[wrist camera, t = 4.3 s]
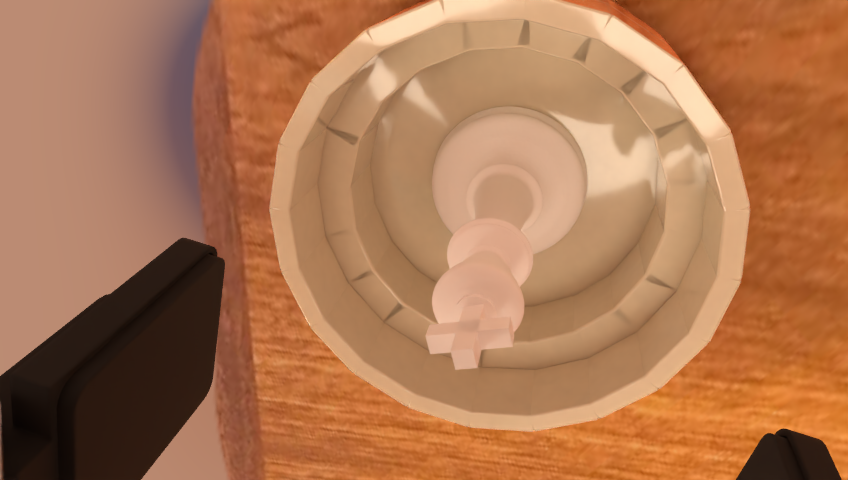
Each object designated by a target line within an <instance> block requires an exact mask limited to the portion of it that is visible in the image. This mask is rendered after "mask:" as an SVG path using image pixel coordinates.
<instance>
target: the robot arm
mask: <svg viewBox="0 0 848 480" xmlns="http://www.w3.org/2000/svg"><path fill="white" fill-rule="evenodd" d="M224 269H225V262H224V260H223V259H222V258H219V257H217V251H216V249H215V248H214V247H212V246H209V245H206V244H203V243H200V242H196V241H193V240H190V239H187V238H181V239H179V240H178V241H177V242H175V243H174V244H173V245H171V246H170V247H169V248H168V249H166V250H165V251H164V252H163V253H161V254H160V255H159V256H158V257H156V258H155V259H154V260H153V261H151V262H150V263H149V264H148V265H146V266H145V267H144V268H143V269H141V270H140V271H139V272H137V273H136V274H135V275H134V276H132V277H131V278H130V279H129V280H128V281H126V282H125V283H124V284H122V285H121V286H120V287H119V288H117V289H116V290H115V291H114V292H112V293H111V294H108V295H105V296H103V297H101V298H99V299H98V300H96V301H95V302H94V303H93V304H91V305H90V306H89V307H88V308H86V309H85V310H84V311H83V312H81V313H80V314H79V315H77V316H76V317H75V318H74V319H72V320H71V321H70V322H69V323H67V324H66V325H65V326H63V327H62V328H61V329H60V330H58V331H57V332H56V333H55V334H53V335H52V336H51V337H49V338H48V339H47V340H46V341H44V342H43V343H42V344H41V345H39V346H38V347H37V348H35V349H34V350H33V351H32V352H30V353H29V354H28V355H27V356H25V357H24V358H23V359H22V360H20V361H19V362H18V363H16V364H15V365H14V366H13V367H11V368H10V369H9V370H8V371H6V372H5V373H4V374H2V375H1V376H0V480H141V479H142V478H143V476H144V475H145V474H146V472H147V471H148V470H149V469H150V467H151V466H152V465H153V464H154V462H155V461H156V460H157V458H158V457H159V456H160V455H161V453H162V452H163V451H164V450H165V448H166V447H167V446H168V444H169V443H170V442H171V441H172V439H173V438H174V437H175V436H176V434H177V433H178V432H179V431H180V429H181V428H182V427H183V425H184V424H185V423H186V422H187V420H188V419H189V418H190V416H191V415H192V414H193V413H194V411H195V410H196V409H197V407H198V406H199V405H200V404H201V402H202V401H203V400H204V398H205V397H206V395H207V393H208V392H209V389H210V387H211V384H212V379H213V372H214V362H215V353H216V344H217V335H218V325H219V316H220V307H221V297H222V288H223V279H224ZM736 480H841V477H840V475H839V473H838V471H837V469H836V467H835V464H834V462H833V460H832V458H831V456H830V454H829V451H828V449H827V447H826V445H825V444H824V443H823V441H821V440H819V439H816V438H813V437H810V436H807V435H804V434H801V433H798V432H794V431H791V430H788V429H780V430H779V431H777V432H776V433H775V435H774V434H771V433H767V434H766V435H764V436H763V438H762V439H761V440H760V442H759V444H758V445H757V447H756V448H755V450H754V452H753V453H752V455H751V456H750V458H749V460H748V461H747V463H746V464H745V466H744V468H743V469H742V471H741V472H740V474H739V476H738V477H737V479H736Z"/></svg>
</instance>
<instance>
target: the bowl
mask: <svg viewBox="0 0 848 480" xmlns="http://www.w3.org/2000/svg"><path fill="white" fill-rule="evenodd" d="M503 106H514V107H523V108H528V109H531V110H535V111H537V112H540V113H542V114H545V115H547V116H548V117H550V118H552V119H553V120H555V121H556V122H558V123H559V124H560V125H562V126H563V127H564V128H565V129H566V130H567V131H568V132H569V133H570V135H571V136H572V137H573V138H574V140H575V141H576V143H577V144H578V146H579V148H580V150H581V152H582V154H583V157H584V160H585V163H586V168H587V176H588V186H587V193H586V198H585V201H584V204H583V207H582V210H581V212H580V215H579V217H578V219H577V221H576V222H575V224H574V225H573V227H572V228H571V229H570V231H569V232H568V233H567V234H566V235H565V236H564V237H563V238H562V239H561V240H560V241H558V242H557V243H556V244H554V245H553V246H551V247H549V248H547V249H546V250H544V251H541V252H539V253H536V254H533V266H532V270H531V272H530V275H529V276H528V278H527V279H526V281H525V282H524V283H523V284H522V285H521V286H520V289H521V291H522V294H523V298H524V315H523V319H522V321H521V323H520V325H519V327H518V328H517V330H516V331H515V332H514V341H513V347H506V348H495V349H484V350H481V354H480V358H479V363H478V368H473V369H460V370H455V367H454V363H453V359H452V355H451V352H450V353H439V354H430V352H429V348H428V344H427V340H426V337H425V336H426V333H427V330H428V327H429V325H431V324H439V323H438V321H437V319H436V317H435V315H434V312H433V308H432V295H433V291H434V288H435V286H436V284H437V282H438V281H439V279H440V278H441V277H442V275H443V274H444V273H446V272H447V271H448V270H449V269H450V268H449V265H448V260H447V249H448V245H449V242H450V240H451V238H452V236H453V234H452V233H451V232H450V231H449V229H448V228H447V227H446V225H445V224H444V223H443V221H442V219H441V218H440V216H439V214H438V211H437V209H436V206H435V203H434V199H433V194H432V174H433V167H434V162H435V158H436V155H437V153H438V150H439V148H440V146H441V144H442V143H443V141H444V139H445V138H446V137H447V135H448V134H449V133H450V132H451V131H452V130H453V129H454V128H455V127H456V126H457V125H458V124H459V123H460V122H462V121H463V120H465V119H466V118H468V117H470V116H471V115H473V114H475V113H478V112H480V111H483V110H486V109H490V108H495V107H503ZM269 211H270V217H271V222H272V227H273V233H274V238H275V244H276V249H277V255H278V260H279V265H280V270H281V271H282V274H283V276H284V278H285V280H286V282H287V284H288V286H289V288H290V290H291V292H292V294H293V296H294V298H295V299H296V301H297V303H298V305H299V307H300V309H301V311H302V313H303V315H304V317H305V319H306V321H307V323H308V324H309V326H311V329H312V330H313V331H314V332H315V333H316V335H317V336H318V337H319V338H320V339H321V340H322V341H323V342H324V343H325V344H326V345H327V346H328V347H329V348H330V349H331V351H332V352H333V353H334V354H335V355H336V356H337V357H338V358H339V359H340V360H341V361H342V362H343V363H344V364H345V365H346V366H347V368H348V369H349V370H350V371H351V372H352V373H354V374H355V375H356V376H358V377H360V378H361V379H363V380H364V381H366V382H368V383H369V384H371V385H372V386H374V387H376V388H377V389H379V390H380V391H382V392H384V393H385V394H387V395H388V396H390V397H392V398H393V399H395V400H396V401H398V402H400V403H401V404H403V405H404V406H408V408H410V409H413V410H416V411H419V412H422V413H425V414H428V415H432V416H435V417H438V418H441V419H444V420H447V421H450V422H453V423H456V424H459V425H462V426H466V427H470V428H483V429H498V430H512V431H527V432H533V431H541V430H546V429H551V428H557V427H562V426H567V425H572V424H578V423H583V422H588V421H594V420H597V419H598V418H603V417H605V416H607V415H609V414H611V413H613V412H615V411H617V410H619V409H621V408H623V407H625V406H627V405H629V404H631V403H633V402H635V401H637V400H639V399H641V398H644V397H646V396H648V395H650V394H652V393H654V392H656V391H657V390H658V389H661V388H662V387H663V386H664V385H665V384H666V383H667V382H668V381H669V380H670V379H671V378H672V377H673V376H674V375H676V374H677V373H678V372H679V371H680V370H681V369H682V368H683V367H684V366H685V365H686V364H687V363H688V362H689V361H690V360H691V359H692V358H693V357H695V356H696V355H697V354H698V353H699V352H700V351H701V350H702V349H703V348H704V347H705V346H706V345H707V344H708V342H710V340H711V338H712V337H713V335H714V333H715V331H716V329H717V327H718V325H719V323H720V321H721V319H722V317H723V316H724V314H725V312H726V310H727V308H728V306H729V304H730V302H731V300H732V298H733V296H734V294H735V293H736V291H737V289H738V287H739V285H740V283H741V278H742V274H743V266H744V258H745V250H746V242H747V234H748V226H749V218H750V201H749V197H748V193H747V189H746V185H745V181H744V178H743V174H742V170H741V166H740V162H739V158H738V154H737V150H736V146H735V142H734V138H733V134H732V133H731V129H730V128H729V127H728V125H727V124H726V122H725V121H724V119H723V118H722V117H721V115H720V114H719V112H718V111H717V110H716V108H715V107H714V105H713V104H712V102H711V101H710V100H709V98H708V97H707V95H706V94H705V92H704V91H703V90H702V88H701V87H700V85H699V84H698V83H697V81H696V80H695V78H694V77H693V75H692V74H691V73H690V71H689V70H688V68H687V67H686V66H685V64H684V63H683V62H682V60H681V59H680V58H679V57H678V55H677V54H676V53H675V52H674V50H673V49H672V48H671V47H670V46H669V44H668V43H667V42H666V41H665V39H664V38H663V37H662V36H661V35H660V34H659V33H658V32H657V31H655V30H654V29H653V28H651V27H650V26H648V25H647V24H645V23H644V22H642V21H641V20H640V19H638V18H637V17H635V16H634V15H632V14H631V13H629V12H628V11H627V10H625V9H624V8H622V7H621V6H619V5H618V4H616V3H615V2H614V1H612V0H424V1H422V2H420V3H417V4H415V5H413V6H410V7H408V8H406V9H404V10H402V11H400V12H398V13H396V14H394V15H392V16H390V17H388V18H386V19H384V20H382V21H380V22H378V23H376V24H374V25H372V26H370V27H369V28H367V29H365V30H364V31H363V32H362V33H361V34H359V35H358V36H357V37H356V38H355V39H354V40H353V41H352V42H351V43H350V44H349V45H348V46H346V47H345V48H344V49H343V50H342V51H341V52H340V53H339V54H338V55H337V56H336V57H335V58H333V59H332V60H331V61H330V62H329V63H328V64H327V65H326V66H325V67H324V68H323V69H322V70H320V71H319V72H318V73H317V74H316V75H315V76H314V77H313V78H312V81H310V82H309V84H308V86H307V88H306V90H305V92H304V94H303V95H302V97H301V99H300V101H299V103H298V105H297V107H296V109H295V111H294V113H293V115H292V117H291V119H290V120H289V122H288V124H287V126H286V128H285V130H284V132H283V134H282V136H281V138H280V141H279V144H278V149H277V156H276V163H275V170H274V177H273V184H272V191H271V198H270V209H269Z"/></svg>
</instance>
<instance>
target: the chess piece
mask: <svg viewBox="0 0 848 480" xmlns="http://www.w3.org/2000/svg"><path fill="white" fill-rule="evenodd" d="M587 186H588V176H587V168H586V163H585V160H584V157H583V154H582V152H581V150H580V148H579V146H578V144H577V143H576V141H575V140H574V138H573V137H572V136H571V135H570V133H569V132H568V131H567V130H566V129H565V128H564V127H563V126H562V125H560V124H559V123H558V122H556V121H555V120H553V119H552V118H550V117H548V116H547V115H545V114H542V113H540V112H537V111H535V110H531V109H528V108H523V107H514V106H503V107H495V108H490V109H486V110H483V111H480V112H478V113H475V114H473V115H471V116H470V117H468V118H466V119H465V120H463V121H462V122H460V123H459V124H458V125H457V126H456V127H455V128H454V129H453V130H452V131H451V132H450V133H449V134H448V135H447V137H446V138H445V139H444V141H443V143H442V144H441V146H440V148H439V150H438V153H437V155H436V158H435V162H434V167H433V174H432V194H433V199H434V203H435V206H436V209H437V211H438V214H439V216H440V218H441V219H442V221H443V223H444V224H445V225H446V227H447V228H448V229H449V231H450V232H451V233H452V234H453V236H452V238H451V240H450V242H449V245H448V249H447V260H448V265H449V268H450V269H449V270H448V271H447V272H446V273H444V274H443V275H442V277H441V278H440V279H439V281H438V282H437V284H436V286H435V288H434V291H433V295H432V308H433V312H434V315H435V317H436V319H437V321H438V323H439V324H431V325H429V327H428V330H427V333H426V336H425V337H426V340H427V344H428V348H429V352H430V354H439V353H450V352H451V355H452V359H453V363H454V367H455V370H460V369H473V368H478V363H479V358H480V354H481V350H484V349H495V348H506V347H513V341H514V332H515V331H516V330H517V328H518V327H519V325H520V323H521V321H522V319H523V315H524V298H523V294H522V291H521V289H520V286H521V285H522V284H523V283H524V282H525V281H526V279H527V278H528V276H529V275H530V272H531V270H532V266H533V254H536V253H539V252H541V251H544V250H546V249H547V248H549V247H551V246H553V245H554V244H556V243H557V242H558V241H560V240H561V239H562V238H563V237H564V236H565V235H566V234H567V233H568V232H569V231H570V229H571V228H572V227H573V225H574V224H575V222H576V221H577V219H578V217H579V215H580V212H581V210H582V207H583V204H584V201H585V198H586V193H587Z"/></svg>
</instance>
